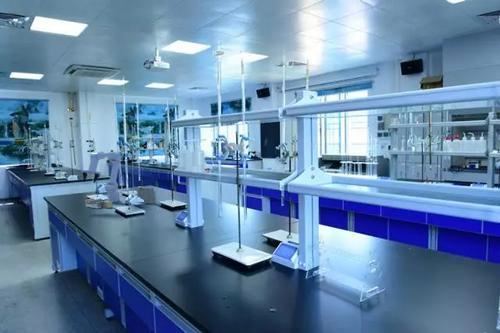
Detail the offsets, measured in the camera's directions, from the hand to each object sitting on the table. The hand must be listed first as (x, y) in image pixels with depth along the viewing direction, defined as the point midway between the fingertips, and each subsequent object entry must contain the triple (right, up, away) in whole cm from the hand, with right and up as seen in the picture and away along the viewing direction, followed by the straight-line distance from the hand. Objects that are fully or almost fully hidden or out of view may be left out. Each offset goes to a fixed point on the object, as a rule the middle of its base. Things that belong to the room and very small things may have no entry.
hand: (88, 182), depth 276 cm
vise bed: (+4, -21, +12) cm, 24 cm away
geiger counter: (+38, -19, +22) cm, 48 cm away
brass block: (+13, -21, +6) cm, 25 cm away
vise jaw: (-5, -19, +17) cm, 26 cm away
